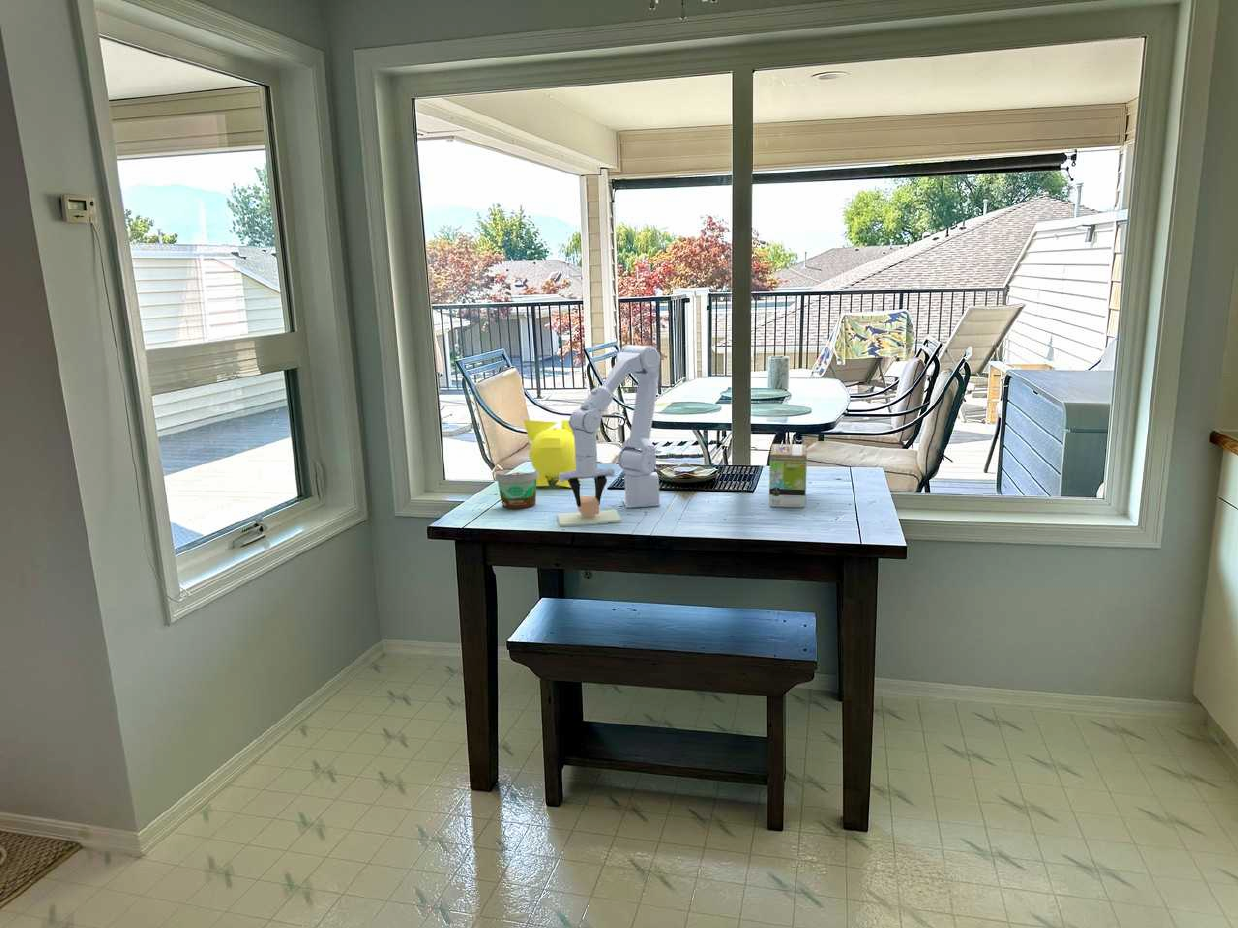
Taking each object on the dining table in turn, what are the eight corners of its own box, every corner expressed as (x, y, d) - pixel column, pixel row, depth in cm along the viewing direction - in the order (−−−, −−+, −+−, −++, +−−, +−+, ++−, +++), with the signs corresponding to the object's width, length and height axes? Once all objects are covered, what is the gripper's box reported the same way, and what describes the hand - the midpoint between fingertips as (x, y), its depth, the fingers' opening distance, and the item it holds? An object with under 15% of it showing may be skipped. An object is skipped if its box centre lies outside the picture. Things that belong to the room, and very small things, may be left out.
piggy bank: (592, 474, 281) (589, 415, 277) (583, 490, 262) (580, 427, 258) (531, 475, 284) (527, 416, 279) (518, 490, 265) (514, 428, 260)
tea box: (806, 508, 235) (806, 454, 232) (768, 507, 238) (768, 454, 234) (806, 493, 250) (806, 442, 246) (770, 493, 252) (770, 442, 248)
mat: (616, 511, 239) (616, 509, 239) (621, 521, 229) (621, 519, 229) (557, 515, 237) (557, 513, 237) (560, 526, 227) (560, 524, 227)
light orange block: (599, 513, 231) (598, 501, 230) (582, 515, 230) (581, 502, 229) (594, 507, 236) (593, 495, 235) (577, 509, 235) (577, 496, 234)
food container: (498, 512, 242) (496, 477, 240) (497, 506, 248) (494, 472, 246) (542, 508, 245) (540, 473, 242) (540, 502, 250) (538, 468, 248)
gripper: (609, 449, 235) (611, 498, 238) (556, 454, 231) (558, 503, 234) (615, 454, 228) (617, 505, 231) (560, 459, 225) (563, 510, 228)
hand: (588, 504), depth 232 cm, fingers closed on light orange block, 4 cm apart
